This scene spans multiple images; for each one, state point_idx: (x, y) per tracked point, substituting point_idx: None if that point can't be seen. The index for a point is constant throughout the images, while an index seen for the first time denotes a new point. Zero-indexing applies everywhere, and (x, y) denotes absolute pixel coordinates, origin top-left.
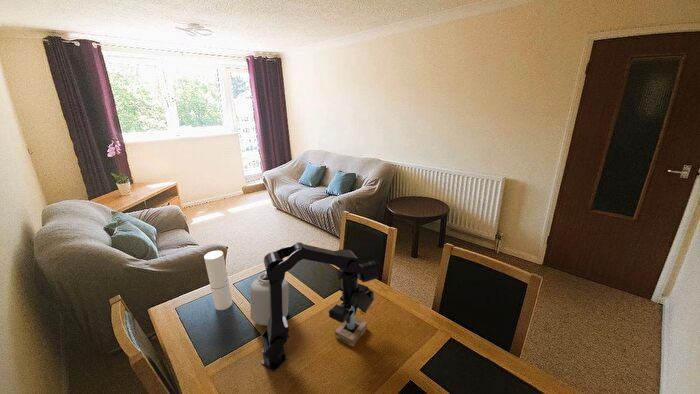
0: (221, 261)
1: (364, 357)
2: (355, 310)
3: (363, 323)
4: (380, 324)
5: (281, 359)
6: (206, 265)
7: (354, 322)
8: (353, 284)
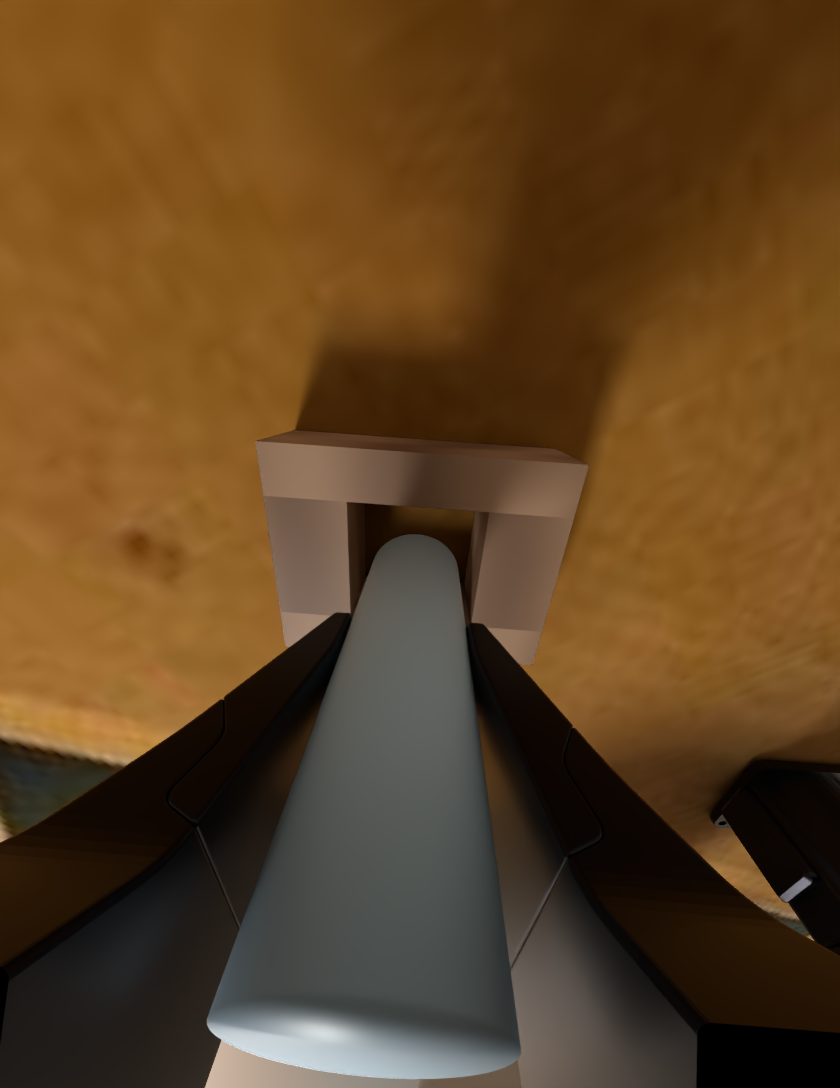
0: None
1: (651, 263)
2: (279, 725)
3: (295, 475)
4: (147, 318)
5: (809, 787)
6: None
7: (406, 571)
8: None
